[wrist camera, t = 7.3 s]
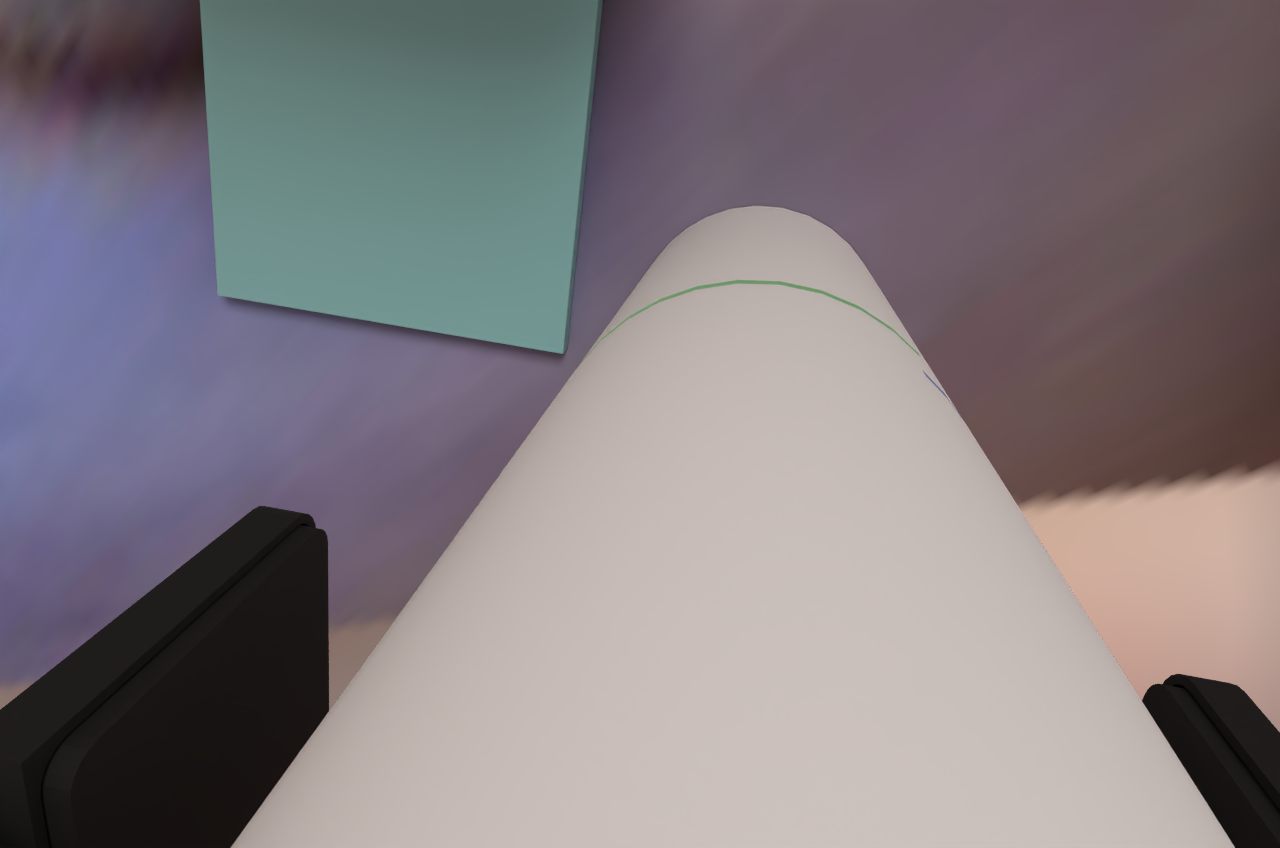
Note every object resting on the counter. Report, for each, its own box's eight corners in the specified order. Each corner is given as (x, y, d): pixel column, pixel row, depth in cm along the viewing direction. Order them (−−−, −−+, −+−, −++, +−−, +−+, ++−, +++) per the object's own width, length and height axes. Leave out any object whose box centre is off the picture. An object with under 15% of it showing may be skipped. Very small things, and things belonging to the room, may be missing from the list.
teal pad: (609, -61, 21) (604, -65, 21) (567, 348, 25) (562, 353, 25) (207, -112, 22) (192, -117, 22) (229, 291, 26) (217, 295, 26)
